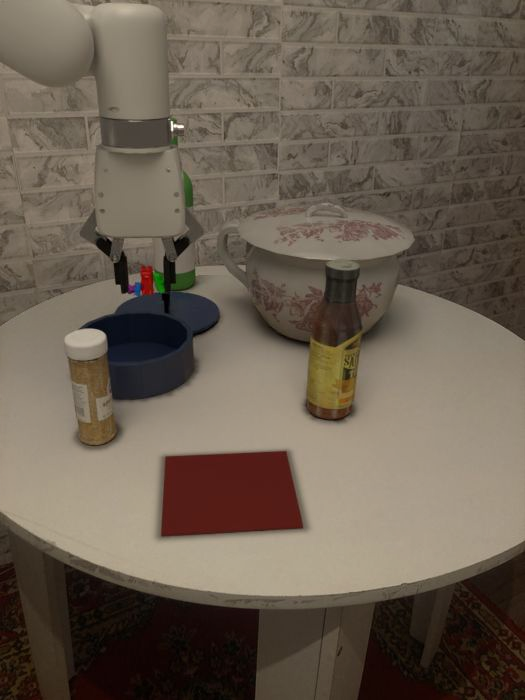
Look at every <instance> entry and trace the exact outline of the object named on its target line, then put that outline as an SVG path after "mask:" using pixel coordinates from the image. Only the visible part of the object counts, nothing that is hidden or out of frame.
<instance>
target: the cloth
mask: <svg viewBox="0 0 525 700" xmlns="http://www.w3.org/2000/svg"><path fill="white" fill-rule="evenodd" d="M163 475H164V476H163V492H162V494H163V496H162V511H161V512H162V513H161V526H160V527H161V529H160V536H161V537H172V536H175V537H177V536H191V535H192V536H193V535H209V534H224V533H241V532H242V533H243V532H260V531H274V530H275V531H277V530H291V529H293V530H294V529H304V524H303V520H302V515H301V509H300V506H299V501H298V497H297V492H296V488H295V484H294V480H293V474H292V469H291V466H290V462H289V457H288V453H287V451H286V450H277V451H256V452H236V453H234V452H233V453H232V452H231V453H212V454H192V455H189V454H188V455H167V456H165V459H164V474H163Z"/></svg>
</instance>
